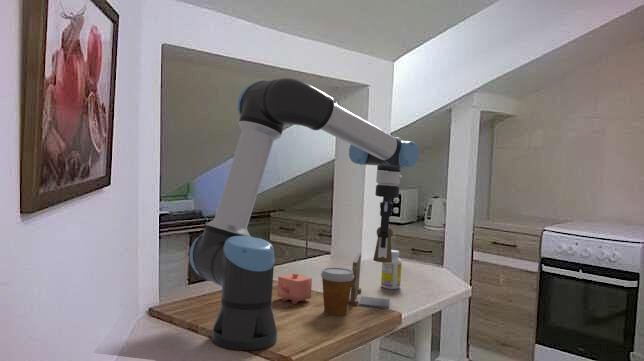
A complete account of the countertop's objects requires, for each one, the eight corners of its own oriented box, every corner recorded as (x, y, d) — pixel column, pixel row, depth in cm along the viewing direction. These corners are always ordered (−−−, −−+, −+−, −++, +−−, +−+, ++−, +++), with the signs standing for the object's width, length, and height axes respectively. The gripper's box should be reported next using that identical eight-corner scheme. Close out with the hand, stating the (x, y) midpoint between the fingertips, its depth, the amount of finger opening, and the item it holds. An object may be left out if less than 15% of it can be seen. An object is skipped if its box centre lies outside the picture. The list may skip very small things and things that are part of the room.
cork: (379, 258, 175) (381, 225, 174) (395, 261, 171) (397, 227, 171) (369, 260, 170) (372, 226, 169) (385, 263, 166) (388, 228, 166)
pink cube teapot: (269, 301, 157) (271, 274, 156) (295, 294, 166) (297, 268, 166) (289, 307, 152) (291, 279, 152) (314, 299, 162) (316, 273, 161)
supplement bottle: (396, 285, 188) (398, 249, 187) (402, 289, 181) (405, 252, 181) (378, 284, 186) (380, 248, 186) (384, 289, 180) (386, 252, 179)
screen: (347, 304, 158) (349, 262, 157) (352, 290, 176) (354, 252, 175) (357, 305, 157) (359, 262, 157) (361, 291, 175) (363, 252, 175)
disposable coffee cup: (312, 309, 150) (314, 268, 150) (338, 306, 156) (341, 266, 156) (331, 319, 143) (334, 275, 142) (358, 315, 148) (361, 273, 148)
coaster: (358, 305, 158) (359, 303, 158) (360, 298, 167) (361, 296, 167) (388, 308, 157) (389, 306, 157) (389, 300, 166) (389, 298, 166)
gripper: (399, 186, 161) (393, 262, 161) (399, 184, 178) (394, 252, 179) (374, 184, 162) (369, 259, 162) (377, 183, 179) (372, 250, 180)
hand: (382, 256), depth 171 cm, fingers open, 5 cm apart
